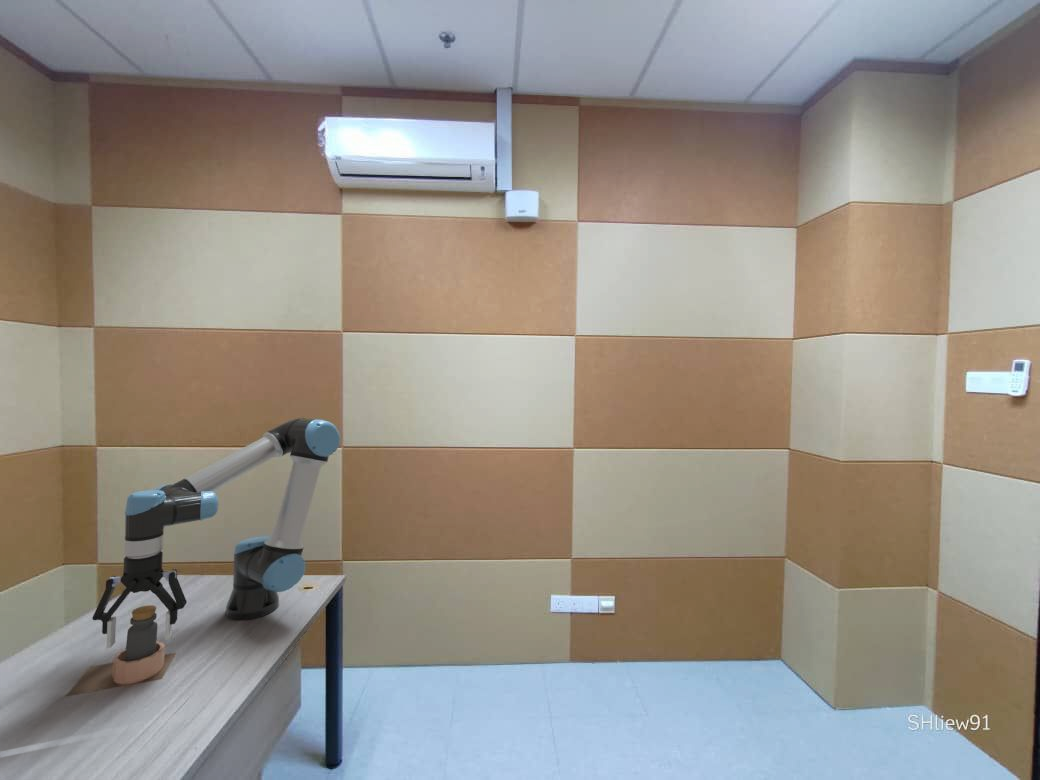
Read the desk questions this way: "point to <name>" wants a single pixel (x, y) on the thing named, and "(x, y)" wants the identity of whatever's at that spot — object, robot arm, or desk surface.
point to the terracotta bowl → (137, 666)
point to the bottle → (141, 634)
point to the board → (109, 677)
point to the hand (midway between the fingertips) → (140, 641)
